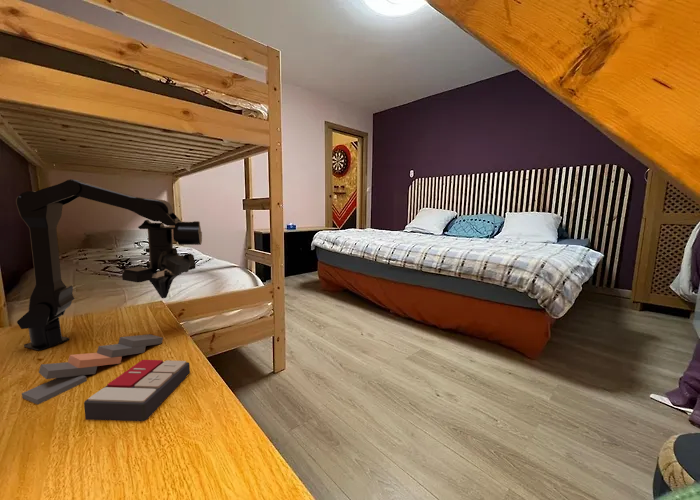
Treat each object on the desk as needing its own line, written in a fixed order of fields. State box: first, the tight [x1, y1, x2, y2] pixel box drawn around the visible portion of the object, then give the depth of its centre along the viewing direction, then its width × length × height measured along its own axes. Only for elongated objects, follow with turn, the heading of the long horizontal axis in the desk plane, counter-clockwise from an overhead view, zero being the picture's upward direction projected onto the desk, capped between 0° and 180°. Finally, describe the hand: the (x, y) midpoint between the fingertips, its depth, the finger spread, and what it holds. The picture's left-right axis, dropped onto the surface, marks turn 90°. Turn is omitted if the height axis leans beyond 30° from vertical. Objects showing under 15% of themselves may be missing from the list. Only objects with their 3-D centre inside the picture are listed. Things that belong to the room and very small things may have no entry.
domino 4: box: [96, 343, 147, 358], centre depth 73 cm, size 5×2×8 cm
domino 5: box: [117, 333, 164, 348], centre depth 77 cm, size 5×2×8 cm
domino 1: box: [38, 361, 98, 380], centre depth 64 cm, size 5×2×8 cm
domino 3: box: [67, 352, 123, 368], centre depth 68 cm, size 5×2×8 cm
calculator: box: [83, 359, 191, 422], centre depth 60 cm, size 11×4×15 cm
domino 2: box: [21, 375, 88, 405], centre depth 60 cm, size 5×2×8 cm
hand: (163, 297), depth 86 cm, fingers closed
